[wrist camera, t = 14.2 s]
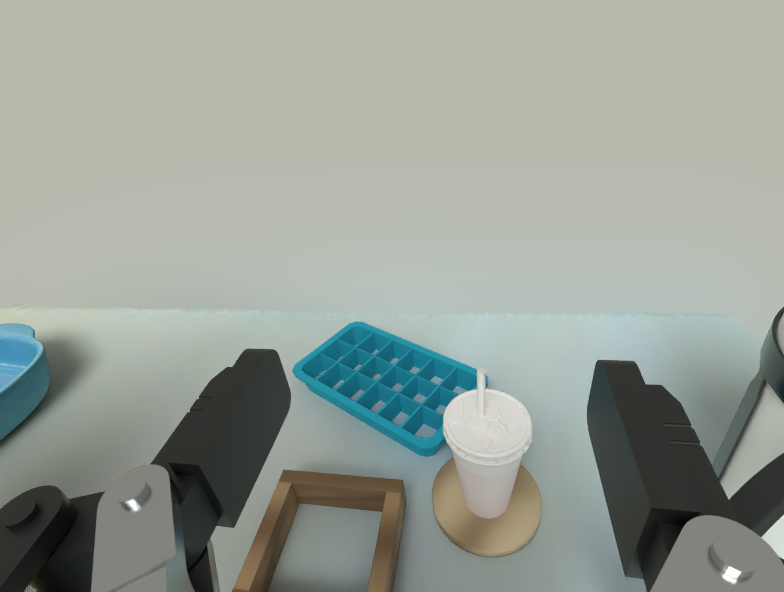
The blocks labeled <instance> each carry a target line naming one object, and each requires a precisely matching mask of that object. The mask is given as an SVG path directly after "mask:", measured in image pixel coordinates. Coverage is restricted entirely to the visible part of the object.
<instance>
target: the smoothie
mask: <svg viewBox="0 0 784 592" xmlns="http://www.w3.org/2000/svg"><path fill="white" fill-rule="evenodd" d="M532 432H533V431H532V420H531V417H530V414H529V412H528V410H527V409H526V407H525V406H524V405H523V404H522V403H521V402H520V401H519V400H518V399H516V398H515V397H513V396H511V395H509V394H507V393H505V392H502V391H499V390H494V389H485V369H483V368H479V369H477V389H474V390H470V391H467V392H464V393H462V394H460V395H458V396H457V397H455V398H454V399H453V400H452V401H451V402H450V403H449V404H448V406H447V407H446V409H445V412H444V416H443V434H444V436H445V439H446V442H447V443H448V445H449V446H450V447H451V449H452V453H453V456H454V460H455V464H456V468H457V472H458V476H459V480H460V484H461V488H462V492H463V496H464V500H465V503H466V505H467V507H468V508H469V510H470V511H471V512H472V513H474V514H475V515H477V516H479V517H482V518H487V519H491V518H496V517H499V516H500V515H502V514H503V513H504V512H505V511H506V509H507V507H508V504H509V501H510V497H511V494H512V490H513V487H514V483H515V480H516V476H517V473H518V469H519V466H520V462H521V459H522V456H523V454H524V453H525V452H526V451H527V450H528V448H529V445H530V443H531V441H532Z"/></svg>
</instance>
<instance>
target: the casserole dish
mask: <svg viewBox="0 0 784 592" xmlns="http://www.w3.org/2000/svg"><path fill="white" fill-rule="evenodd" d="M34 336H35V331H34V329H33V328H32V327H30V326H27V325H23V324H0V440H2V439H3V438H4V437H5V436H6V435H8V434H9V433H10V432H11V431H12V430H13V429H15V428H16V427H17V426H18V425H19V424H20V423H21V422H22V421H23V420H25V419H26V418H27V417H28V416H29V415H30V414H31V413H32V412H33V410H34V409H35V408H36V407H37V406H38V404H39V403H40V402H41V400H42V399H43V398H44V396H45V394H46V392H47V390H48V387H49V382H50V373H49V367H48V362H47V358H46V355H45V348H44V345H43V344H42V343H41V342H40V341H39V340H37V339H35V338H34Z"/></svg>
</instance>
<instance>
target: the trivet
mask: <svg viewBox="0 0 784 592" xmlns="http://www.w3.org/2000/svg"><path fill="white" fill-rule="evenodd" d="M432 500H433V509H434V514H435V517H436V520H437V522H438V524H439V526H440V528H441V529H442V531H443V532H444V534H445V535H446V536H447V537H448V538H449V539H450V540H451V541H452V542H453V543H454V544H456V545H457V546H459V547H460V548H462V549H464V550H466V551H467V552H470V553H473V554H475V555H480V556H485V557H500V556H506V555H509V554H512V553H514V552H516V551H518V550H520V549H522V548H523V547H524V546H526V545H527V544H528V543H529V542H530V541H531V539H532V538H533V536H534V535H535V533H536V531H537V529H538V526H539V522H540V516H541V496H540V493H539V489H538V487H537V485H536V483H535V481H534V479H533V478H532V476H531V475H530V474H529V472H528V471H527V470H526V469H525V468H524V467H523V466H521V465H520V466H519V469H518V473H517V476H516V480H515V483H514V487H513V490H512V494H511V497H510V501H509V504H508V507H507V509H506V511H505V512H504V513H503V514H502V515H500V516H499V517H496V518H491V519H487V518H482V517H479V516H477V515H475V514H474V513H472V512H471V511H470V510H469V508H468V507H467V505H466V503H465V500H464V496H463V492H462V488H461V484H460V480H459V476H458V472H457V468H456V464H455V460H454V458H452V459H451V460H449V461H448V462H447V463H446V464H445V465H444V466H443V467H442V468H441V470H440V471H439V472H438V474H437V476H436V478H435V481H434V485H433V490H432Z"/></svg>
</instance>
